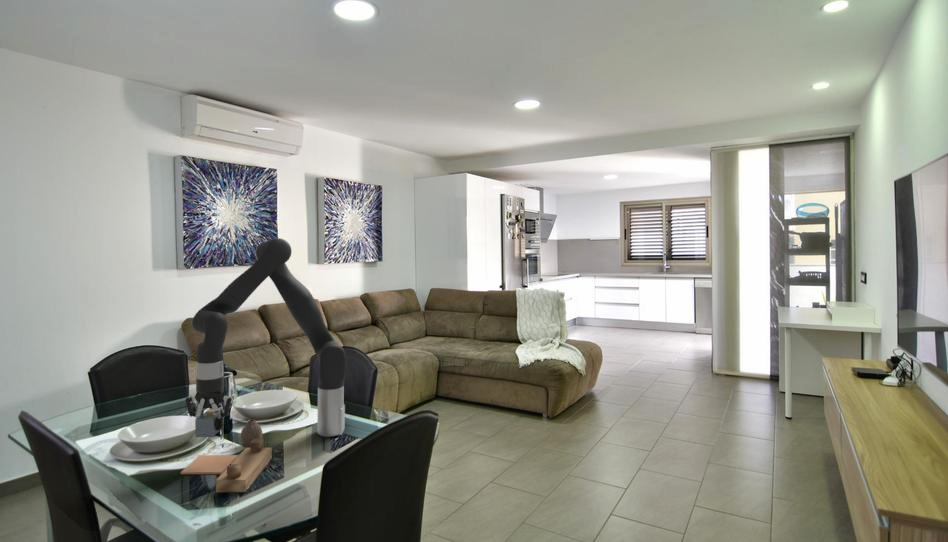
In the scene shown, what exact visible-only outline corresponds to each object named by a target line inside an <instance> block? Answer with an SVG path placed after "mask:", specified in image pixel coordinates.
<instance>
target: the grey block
mask: <svg viewBox="0 0 948 542" xmlns="http://www.w3.org/2000/svg"><path fill="white" fill-rule="evenodd" d="M223 411H224V409H223ZM217 419H218V418H217V416H216V413H215V412H214V410H213V409H210V408H208V410H207V409H206V410H205V411H204V413H203V414H202V415H201V416H199V417H198V418H195V430H194V431H195V435H194V436H195V438H213V437H215V436H216V435H217V434H218V433H219V432H220V431H221V430H223V429H224V428H225V425H224V426H223V427H222V429H221V430H217Z"/></svg>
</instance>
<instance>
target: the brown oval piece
mask: <svg viewBox="0 0 948 542" xmlns="http://www.w3.org/2000/svg"><path fill="white" fill-rule="evenodd" d="M239 438H240V442H241V445H242V446H243V447H245V448H250V443H251V441H252V440H253V439H263V429H262V427H261V426H260V424H258V423H257V421H256V420H255V419H248V420H247V422H246V424H245V425H244V426H243V428H242V429H241V432H240V437H239Z"/></svg>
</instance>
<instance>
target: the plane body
mask: <svg viewBox="0 0 948 542" xmlns="http://www.w3.org/2000/svg"><path fill="white" fill-rule="evenodd" d="M264 442H265V441H264V438H262V439H253V440H252V441H251V443H250V448H246V447H245V448H244V450H243V451H242V452H240V453H239V455H238V457H237V458H236V459H235V460H234V461H233V462H232V463H231V465H229V466H228V467H227V469H226V470H225V471H224V472H223V473H222V474H219V476H218V477H217V478H216V479H215V493H246V492H247V491H248V490H249V488H250V487H251V486H252V485H253V483H254V482H255V481H256V480H257V478H258V476H260V474H261V472H263V470H264V469H265V468H266V466H267V465H268V464H269V463H270V461H271V460H272V458H273V457H272V455H273V453H272V451H273V448H272V447H264ZM250 485H251V486H250ZM247 489H248V490H247ZM246 490H247V491H246Z"/></svg>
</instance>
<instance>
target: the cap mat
mask: <svg viewBox="0 0 948 542" xmlns="http://www.w3.org/2000/svg"><path fill="white" fill-rule="evenodd" d="M238 456H239V455H238V454H209V455H208V454H207V455H206V454H199V455H198V456H197V457H196V458H194V460H193V461H192V462H189V464H188V465H187V466H186V467H185V468H184V469H182V471H180V475H221V474H222V473H223V472H224V471H225V470H226V469H227V467H228V466H229V465H230V464H231V463H232V462H233V461H234V460H235V459H236V458H237V457H238Z"/></svg>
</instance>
